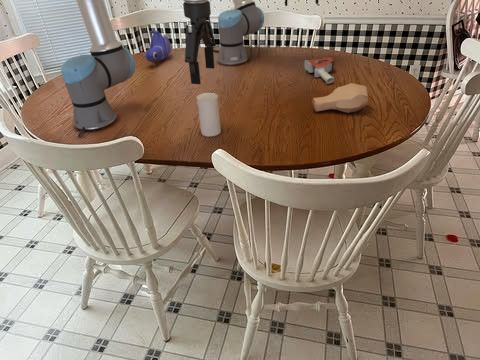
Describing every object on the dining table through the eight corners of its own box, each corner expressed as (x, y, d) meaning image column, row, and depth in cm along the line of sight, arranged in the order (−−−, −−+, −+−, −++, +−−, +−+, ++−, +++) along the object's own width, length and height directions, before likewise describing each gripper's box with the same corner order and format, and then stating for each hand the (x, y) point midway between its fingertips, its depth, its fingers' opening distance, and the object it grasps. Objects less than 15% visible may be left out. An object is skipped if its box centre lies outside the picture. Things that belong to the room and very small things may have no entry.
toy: (159, 62, 200) (139, 68, 178) (155, 30, 193) (133, 32, 171) (176, 61, 198) (157, 67, 176) (172, 29, 191) (151, 31, 169)
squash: (372, 113, 127) (374, 92, 121) (316, 123, 129) (316, 102, 123) (363, 96, 135) (365, 75, 129) (310, 106, 137) (310, 86, 130)
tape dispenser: (330, 89, 151) (346, 71, 163) (331, 77, 147) (348, 59, 160) (292, 80, 158) (310, 64, 171) (293, 69, 155) (311, 53, 167)
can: (198, 136, 121) (193, 100, 113) (204, 126, 126) (200, 92, 119) (218, 137, 119) (214, 101, 112) (223, 127, 125) (219, 93, 117)
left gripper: (193, 11, 88) (201, 92, 101) (222, -8, 107) (226, 62, 120) (165, 10, 90) (177, 90, 103) (198, -8, 109) (205, 61, 122)
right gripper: (274, -50, 142) (274, 7, 155) (336, -54, 142) (331, 4, 154) (272, -52, 148) (272, 4, 161) (332, -55, 148) (327, 1, 160)
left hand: (203, 75), depth 111 cm, fingers open, 13 cm apart
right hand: (301, 4), depth 157 cm, fingers open, 13 cm apart
